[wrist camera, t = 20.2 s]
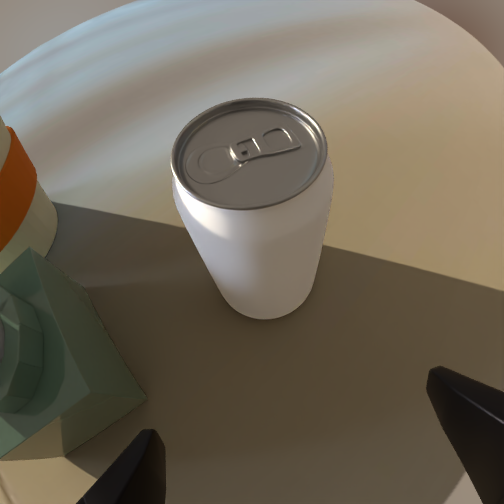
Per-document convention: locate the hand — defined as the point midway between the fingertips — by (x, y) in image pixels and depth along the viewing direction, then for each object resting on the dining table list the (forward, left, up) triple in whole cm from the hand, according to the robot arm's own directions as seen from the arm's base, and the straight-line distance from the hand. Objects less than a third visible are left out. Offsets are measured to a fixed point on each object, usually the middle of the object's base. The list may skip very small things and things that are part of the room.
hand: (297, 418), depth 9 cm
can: (+9, -2, -10) cm, 14 cm away
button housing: (+7, +14, -10) cm, 19 cm away
